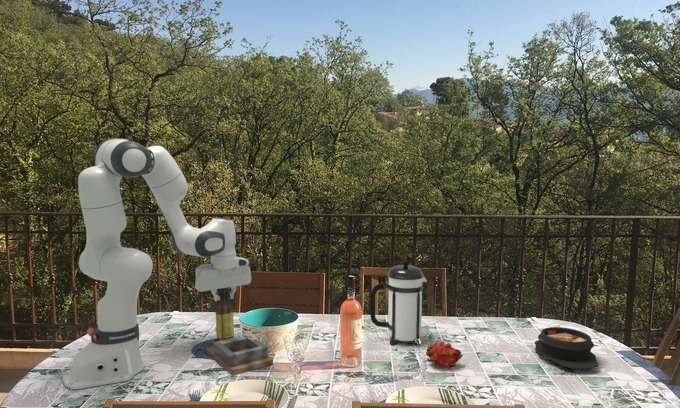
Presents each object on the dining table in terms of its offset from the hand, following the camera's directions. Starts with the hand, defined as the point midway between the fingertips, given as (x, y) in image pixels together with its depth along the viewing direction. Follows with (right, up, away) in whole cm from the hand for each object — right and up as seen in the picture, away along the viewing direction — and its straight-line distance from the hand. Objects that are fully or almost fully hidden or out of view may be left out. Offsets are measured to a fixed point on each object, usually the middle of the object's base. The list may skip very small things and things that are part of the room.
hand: (224, 299), depth 177 cm
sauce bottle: (0, -15, +1) cm, 15 cm away
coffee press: (+64, -16, +2) cm, 66 cm away
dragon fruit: (+75, -18, -20) cm, 80 cm away
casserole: (+117, -17, -14) cm, 119 cm away
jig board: (+8, -17, -15) cm, 24 cm away
